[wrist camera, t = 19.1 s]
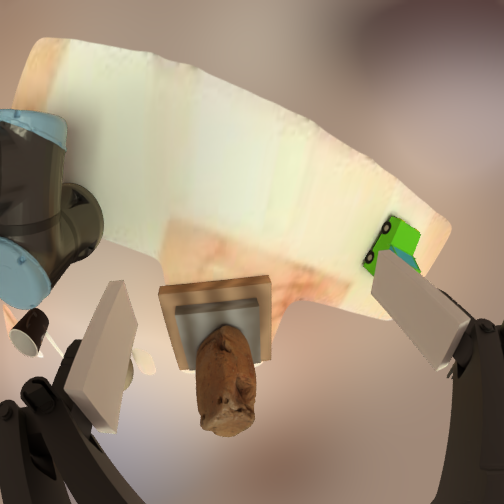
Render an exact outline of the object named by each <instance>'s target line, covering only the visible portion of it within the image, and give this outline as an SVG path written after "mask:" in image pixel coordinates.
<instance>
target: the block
mask: <svg viewBox="0 0 504 504" xmlns="http://www.w3.org/2000/svg"><path fill="white" fill-rule="evenodd" d="M196 396H197V405H198V411H199V414H200V415H201V420H200V425H201V427H202V429H204V430H207V431H213V432H214V434H216V435H219V436H223V437H232V436H235V435H237V434H239V433H240V432H242V431H244V430H246V429H248V428H249V427H250V426H251V425H252V424H253V422H254V420H255V413H254V403H255V397H256V373H255V368H254V363H253V359H252V355H251V350H250V347H249V344H248V341H247V339H246V338H245V336H244V335H243V334H242V333H241V331H240V330H239V329H237V328H235V327H231V326H223V327H221V328H220V329H218V330H216V331H214V332H213V333H211V334H210V335H209V336H208V337H207V338H206V339H205V340H204V341H203V343H202V344H201V345H200V347H199V348H198V351H197V355H196Z"/></svg>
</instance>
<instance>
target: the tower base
mask: <svg viewBox="0 0 504 504" xmlns="http://www.w3.org/2000/svg"><path fill="white" fill-rule="evenodd" d="M158 296H159V301H160V305H161V308H162V312H163V316H164V319H165V323H166V326H167V330H168V333H169V337H170V340H171V344H172V347H173V350H174V353H175V357H176V360H177V363H178V366H179V369H180V370H188V369H189V370H196V355H197V351H198V348H199V347H200V345H201V344H202V343H203V341H204V340H205V339H206V338H207V337H208V336H209V335H210V334H211V333H213V332H214V331H216V330H218V329H220V328H221V327H223V326H231V327H235V328H237V329H239V330H240V331H241V333H242V334H243V335H244V336H245V338H246V339H247V341H248V344H249V347H250V350H251V355H252V359H253V363H254V364H255V363H261V361H267V360H271V281H270V278H269V276H268V275H266V276H257V277H248V278H239V279H230V280H221V281H211V282H202V283H192V284H181V285H171V286H160V288H159V293H158Z"/></svg>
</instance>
